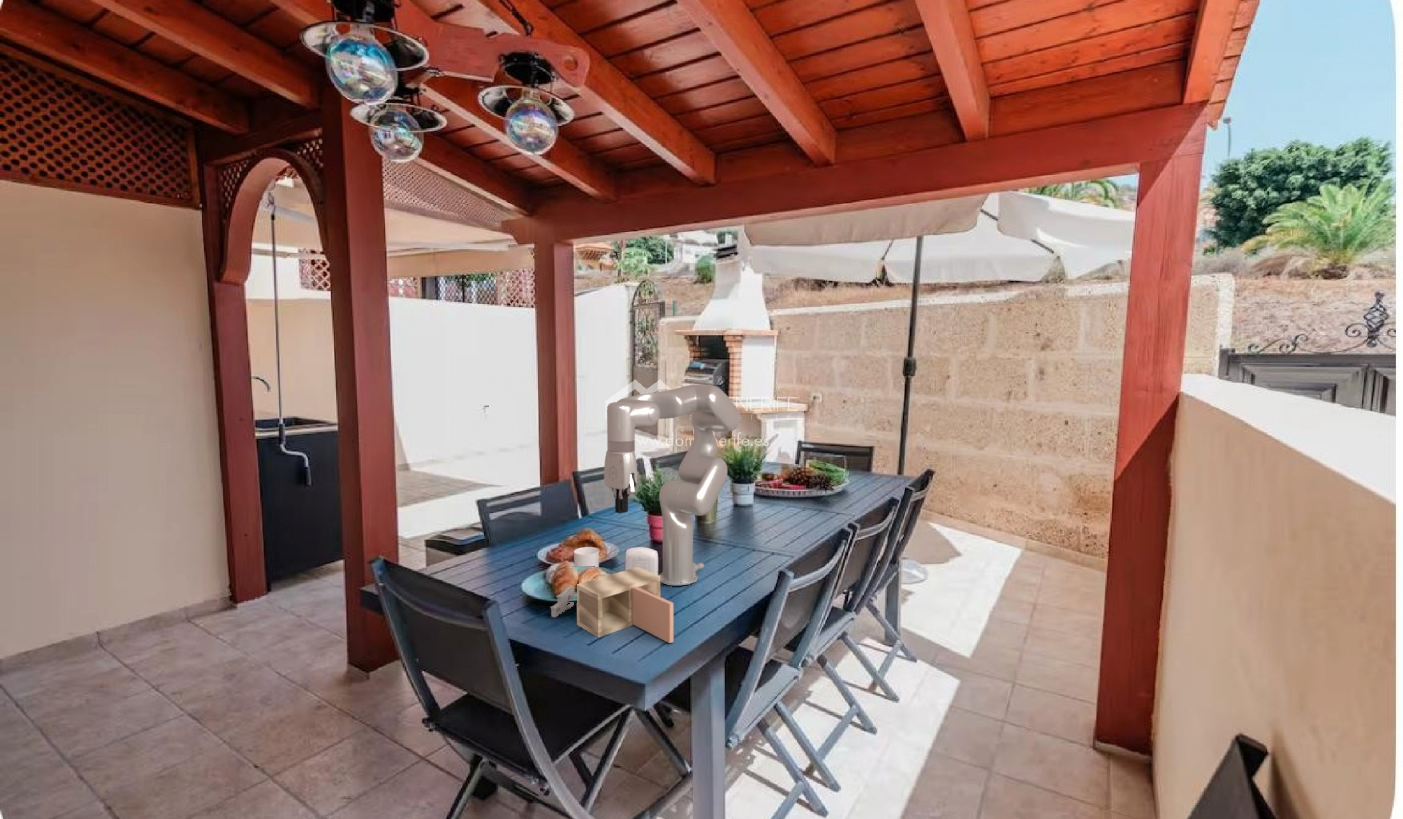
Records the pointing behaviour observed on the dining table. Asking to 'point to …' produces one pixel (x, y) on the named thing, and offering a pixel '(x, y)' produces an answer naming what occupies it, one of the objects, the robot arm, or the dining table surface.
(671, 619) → the door
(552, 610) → the garden wall model
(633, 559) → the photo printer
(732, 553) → the dining table surface
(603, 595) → the wooden cabinet
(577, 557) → the white cup
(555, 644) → the dining table surface
